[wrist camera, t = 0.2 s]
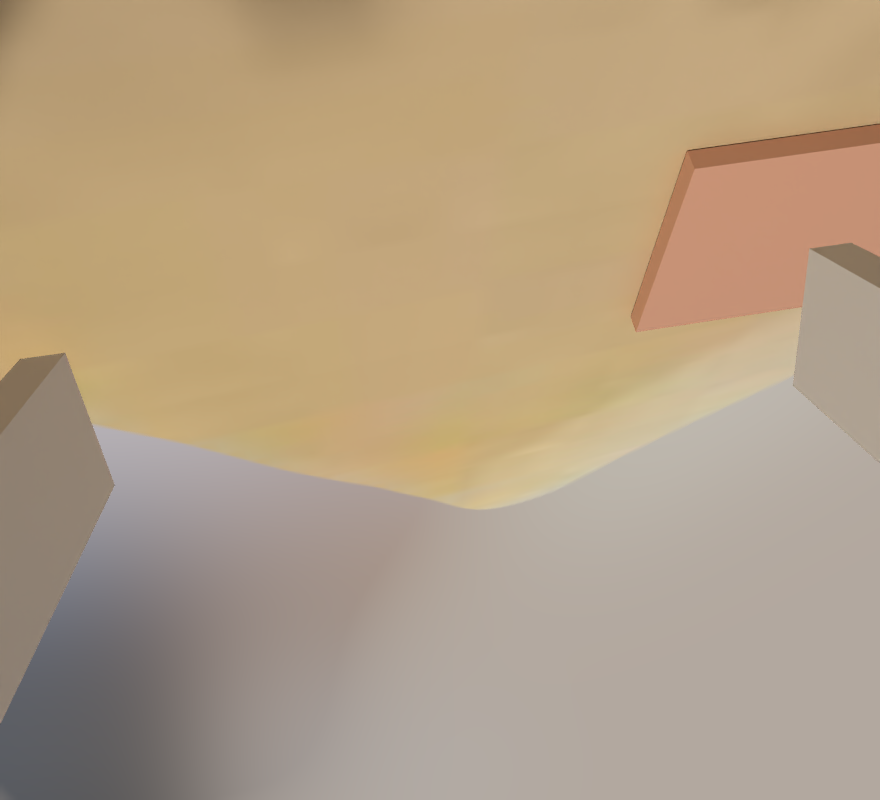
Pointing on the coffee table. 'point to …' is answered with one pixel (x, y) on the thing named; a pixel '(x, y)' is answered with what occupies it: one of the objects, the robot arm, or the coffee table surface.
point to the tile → (758, 224)
